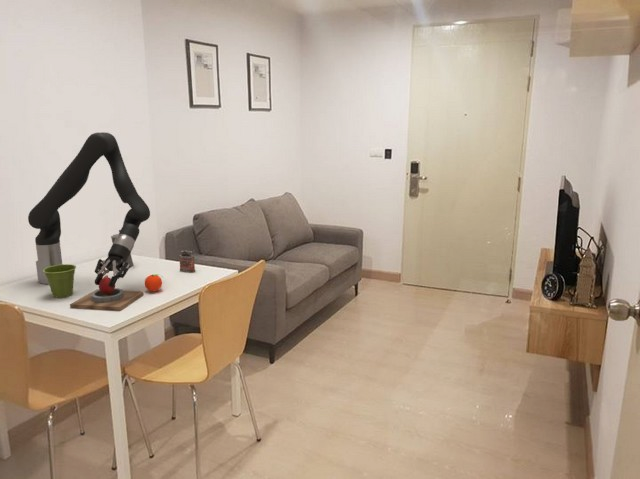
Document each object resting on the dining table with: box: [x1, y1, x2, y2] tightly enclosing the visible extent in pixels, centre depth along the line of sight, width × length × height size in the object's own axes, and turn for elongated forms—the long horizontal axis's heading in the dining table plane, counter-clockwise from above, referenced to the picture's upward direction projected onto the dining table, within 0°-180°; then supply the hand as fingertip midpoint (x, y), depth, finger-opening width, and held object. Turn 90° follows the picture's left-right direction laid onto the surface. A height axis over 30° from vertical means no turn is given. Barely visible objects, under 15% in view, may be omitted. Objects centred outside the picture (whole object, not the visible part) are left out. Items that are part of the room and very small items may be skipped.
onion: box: [98, 274, 116, 295], centre depth 195 cm, size 6×6×8 cm
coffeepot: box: [110, 229, 134, 268], centre depth 242 cm, size 15×9×18 cm, turn 51°
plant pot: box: [43, 263, 77, 299], centre depth 202 cm, size 12×12×11 cm
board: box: [69, 288, 144, 312], centre depth 196 cm, size 20×18×2 cm
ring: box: [91, 287, 124, 303], centre depth 196 cm, size 11×11×2 cm
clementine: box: [144, 273, 164, 292], centre depth 208 cm, size 8×7×7 cm
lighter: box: [178, 249, 196, 274], centre depth 236 cm, size 8×3×10 cm, turn 68°
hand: (103, 285), depth 193 cm, fingers open, 6 cm apart
